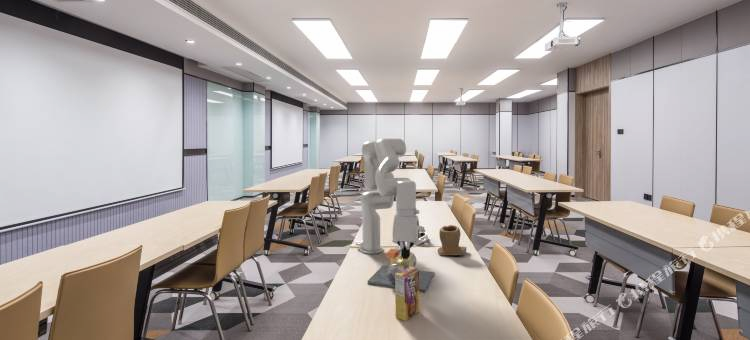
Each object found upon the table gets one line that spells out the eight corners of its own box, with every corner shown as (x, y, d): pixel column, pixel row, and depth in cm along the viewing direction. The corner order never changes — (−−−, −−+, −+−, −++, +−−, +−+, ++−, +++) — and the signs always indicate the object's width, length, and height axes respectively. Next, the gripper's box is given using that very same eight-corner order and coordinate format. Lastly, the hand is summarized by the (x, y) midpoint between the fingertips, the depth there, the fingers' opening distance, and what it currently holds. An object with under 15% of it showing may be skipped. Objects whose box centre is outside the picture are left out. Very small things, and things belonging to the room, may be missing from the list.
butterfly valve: (429, 245, 194) (428, 233, 211) (418, 211, 192) (418, 203, 209) (414, 249, 196) (414, 237, 213) (403, 216, 193) (404, 207, 210)
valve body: (367, 283, 144) (367, 253, 143) (382, 267, 162) (382, 240, 161) (425, 292, 136) (425, 260, 135) (434, 274, 154) (434, 246, 152)
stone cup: (438, 258, 175) (438, 228, 173) (437, 250, 187) (437, 222, 185) (469, 259, 173) (469, 229, 171) (466, 251, 185) (466, 223, 183)
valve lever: (399, 247, 150) (399, 242, 150) (407, 248, 148) (407, 243, 148) (386, 257, 137) (386, 252, 137) (394, 258, 136) (394, 253, 135)
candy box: (409, 307, 124) (409, 265, 123) (419, 311, 121) (420, 268, 120) (394, 317, 117) (394, 273, 116) (404, 321, 115) (405, 276, 113)
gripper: (427, 211, 137) (426, 257, 138) (390, 209, 142) (390, 253, 144) (422, 215, 130) (422, 263, 131) (384, 212, 135) (384, 259, 137)
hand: (405, 258), depth 138 cm, fingers closed
